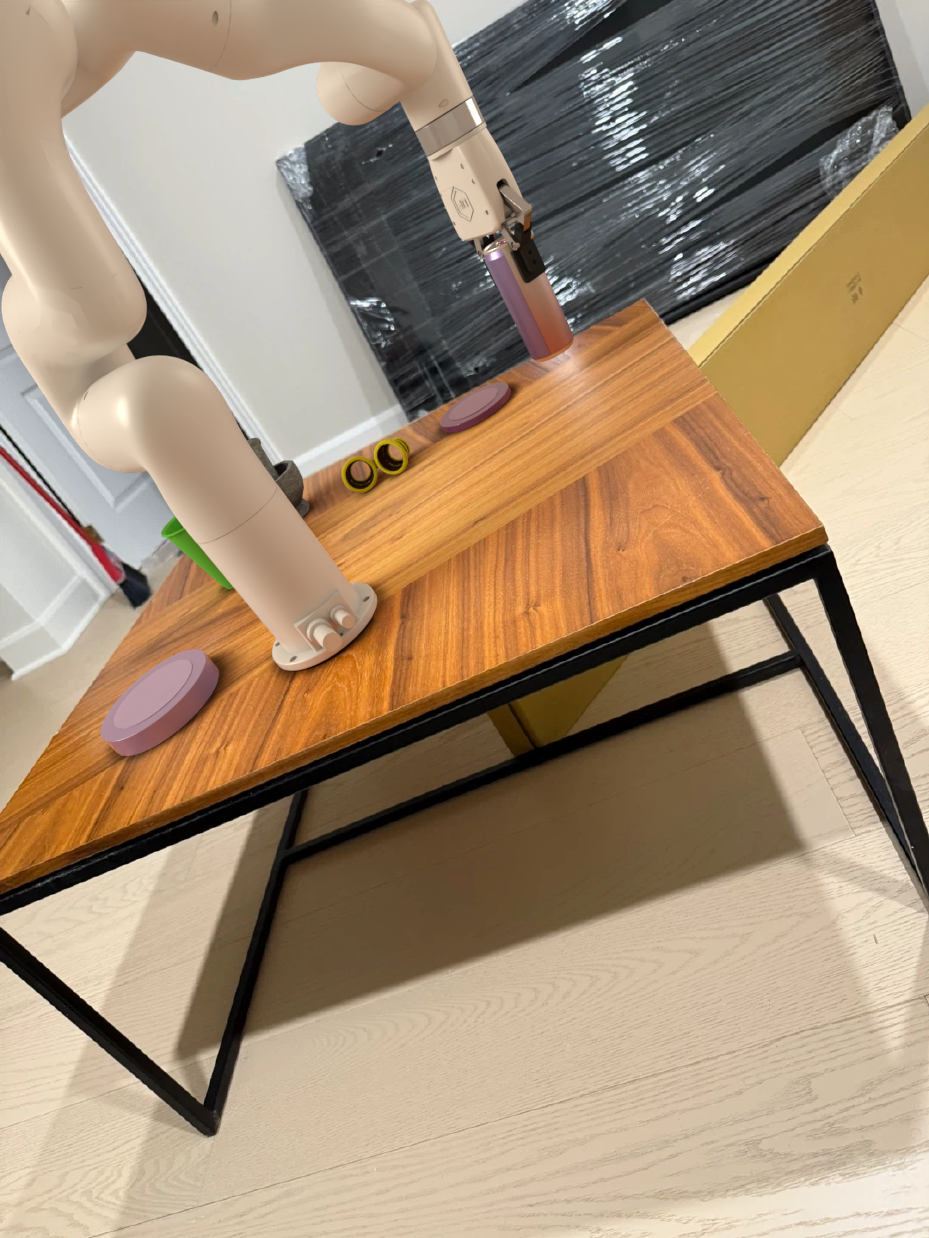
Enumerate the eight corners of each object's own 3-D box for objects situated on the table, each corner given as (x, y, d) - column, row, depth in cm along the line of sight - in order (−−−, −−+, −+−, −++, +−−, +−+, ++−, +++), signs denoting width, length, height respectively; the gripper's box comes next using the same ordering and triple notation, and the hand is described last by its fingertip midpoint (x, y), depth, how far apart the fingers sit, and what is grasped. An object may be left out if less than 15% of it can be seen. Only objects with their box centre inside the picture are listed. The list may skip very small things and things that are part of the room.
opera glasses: (418, 459, 118) (400, 427, 116) (414, 466, 113) (395, 434, 111) (359, 490, 120) (341, 460, 118) (353, 500, 115) (334, 468, 113)
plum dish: (525, 388, 115) (521, 381, 114) (466, 435, 112) (462, 429, 112) (486, 387, 124) (483, 381, 124) (430, 430, 122) (427, 424, 121)
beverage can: (531, 369, 107) (477, 257, 100) (535, 353, 111) (484, 245, 104) (574, 349, 104) (522, 233, 97) (576, 334, 109) (527, 222, 102)
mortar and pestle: (316, 515, 118) (265, 445, 113) (261, 546, 120) (209, 479, 114) (321, 486, 128) (275, 420, 122) (270, 515, 130) (222, 451, 124)
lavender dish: (232, 685, 89) (218, 669, 88) (124, 775, 86) (108, 759, 85) (204, 650, 101) (190, 635, 100) (107, 728, 98) (93, 713, 97)
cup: (253, 586, 109) (200, 520, 104) (203, 607, 113) (149, 544, 108) (277, 548, 116) (228, 484, 111) (229, 568, 120) (179, 508, 115)
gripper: (396, 164, 101) (466, 301, 110) (461, 128, 86) (536, 290, 95) (443, 134, 103) (508, 271, 111) (515, 93, 88) (584, 256, 97)
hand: (520, 278), depth 103 cm, fingers closed on beverage can, 6 cm apart
